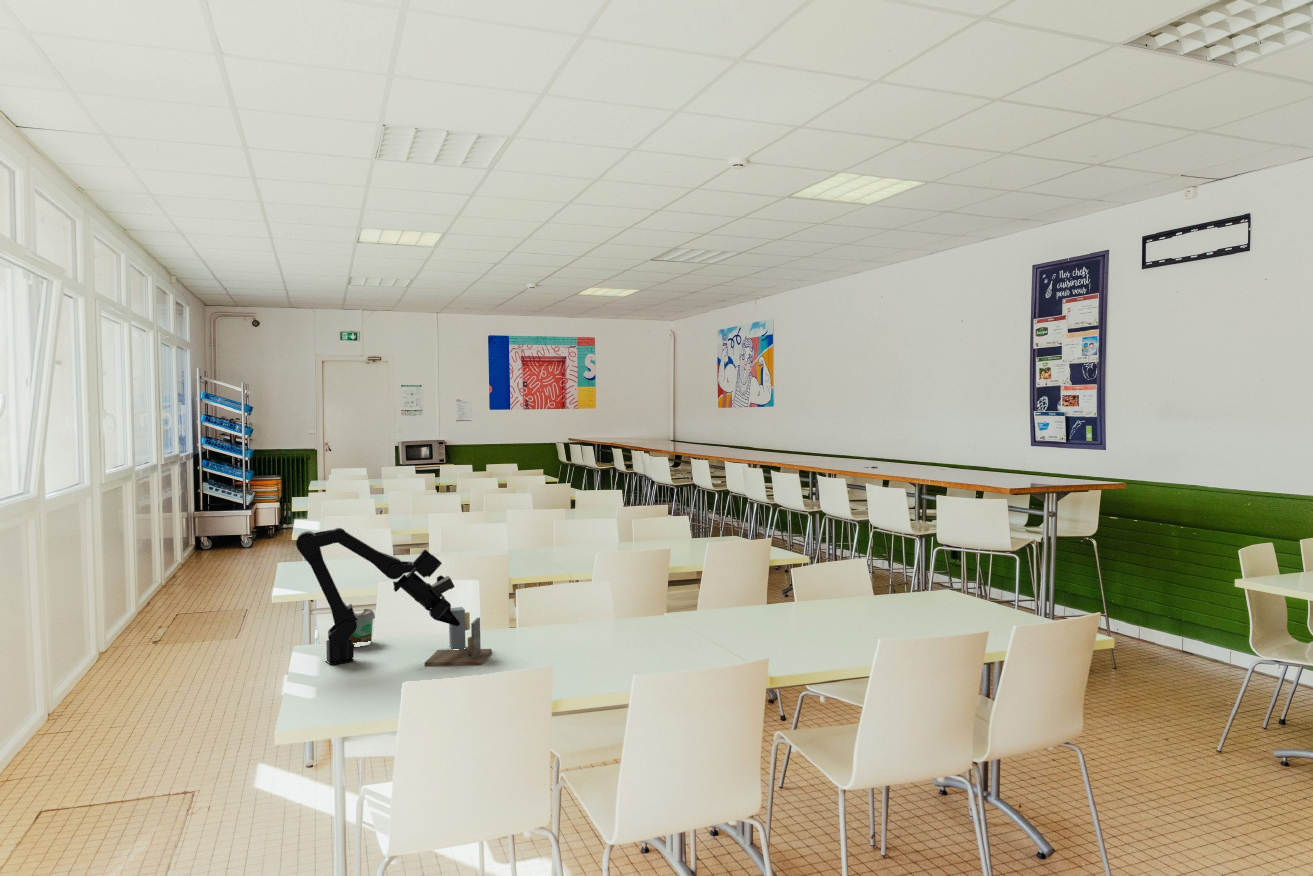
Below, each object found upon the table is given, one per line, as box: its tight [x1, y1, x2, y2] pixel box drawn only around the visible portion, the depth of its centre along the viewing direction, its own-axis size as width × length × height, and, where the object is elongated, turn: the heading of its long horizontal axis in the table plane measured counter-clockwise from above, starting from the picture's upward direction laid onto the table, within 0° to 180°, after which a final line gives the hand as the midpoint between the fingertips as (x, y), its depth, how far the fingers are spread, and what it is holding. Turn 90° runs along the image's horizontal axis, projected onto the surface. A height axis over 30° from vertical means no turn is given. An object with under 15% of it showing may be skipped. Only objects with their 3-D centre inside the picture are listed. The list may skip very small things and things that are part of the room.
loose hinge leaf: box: [448, 606, 471, 650], centre depth 249 cm, size 6×5×12 cm
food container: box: [349, 608, 376, 645], centre depth 256 cm, size 12×6×10 cm, turn 168°
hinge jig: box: [424, 617, 492, 667], centre depth 237 cm, size 16×14×11 cm
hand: (456, 622), depth 249 cm, fingers open, 9 cm apart
